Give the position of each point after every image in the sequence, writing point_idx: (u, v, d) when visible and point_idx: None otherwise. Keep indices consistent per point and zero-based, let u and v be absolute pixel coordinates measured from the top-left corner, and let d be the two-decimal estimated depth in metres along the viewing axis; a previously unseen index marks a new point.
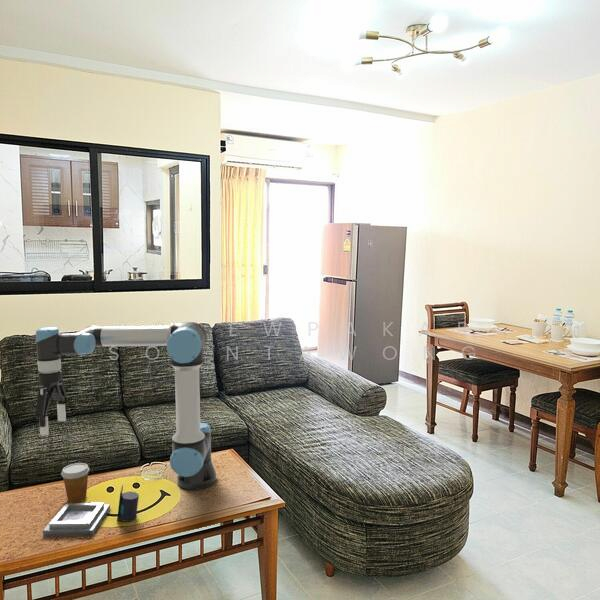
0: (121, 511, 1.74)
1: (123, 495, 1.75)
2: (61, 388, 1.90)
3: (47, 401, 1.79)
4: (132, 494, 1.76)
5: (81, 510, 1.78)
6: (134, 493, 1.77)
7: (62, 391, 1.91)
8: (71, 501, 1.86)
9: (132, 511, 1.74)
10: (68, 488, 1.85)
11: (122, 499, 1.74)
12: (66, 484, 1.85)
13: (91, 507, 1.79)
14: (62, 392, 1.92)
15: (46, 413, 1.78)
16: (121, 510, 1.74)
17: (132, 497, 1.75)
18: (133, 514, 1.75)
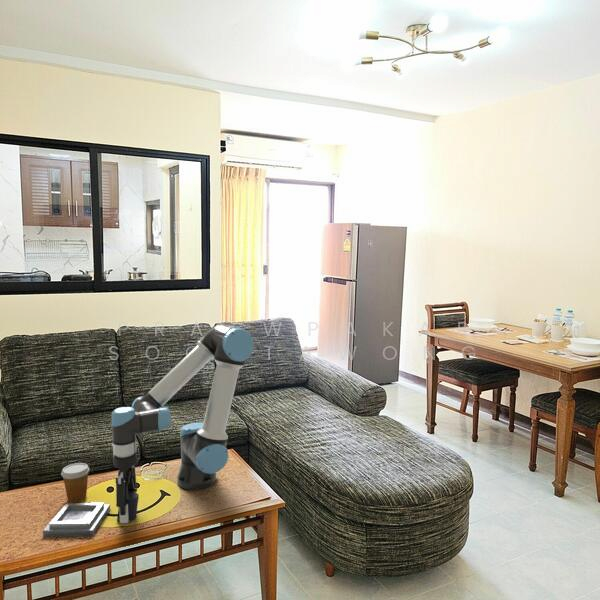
0: None
1: None
2: (133, 472, 1.81)
3: (125, 488, 1.72)
4: (132, 494, 1.76)
5: (81, 510, 1.78)
6: (134, 493, 1.77)
7: (133, 476, 1.81)
8: (71, 501, 1.86)
9: (132, 511, 1.74)
10: (68, 488, 1.85)
11: None
12: (66, 484, 1.85)
13: (91, 507, 1.79)
14: (133, 477, 1.81)
15: (126, 500, 1.72)
16: None
17: (132, 497, 1.75)
18: (133, 514, 1.75)
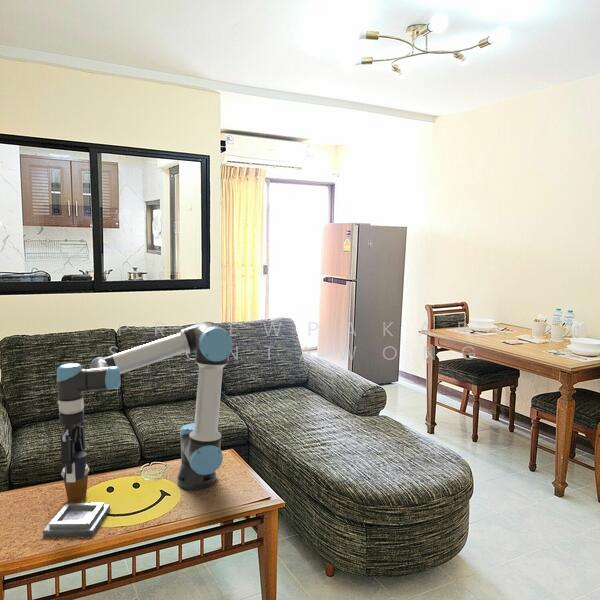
0: None
1: None
2: (81, 432, 1.75)
3: (71, 446, 1.67)
4: (80, 453, 1.72)
5: (81, 510, 1.78)
6: (82, 452, 1.73)
7: (81, 436, 1.75)
8: (71, 501, 1.86)
9: (79, 470, 1.69)
10: (68, 488, 1.85)
11: None
12: (66, 484, 1.85)
13: (91, 507, 1.79)
14: (81, 438, 1.76)
15: (72, 458, 1.67)
16: None
17: (80, 455, 1.70)
18: (80, 473, 1.70)
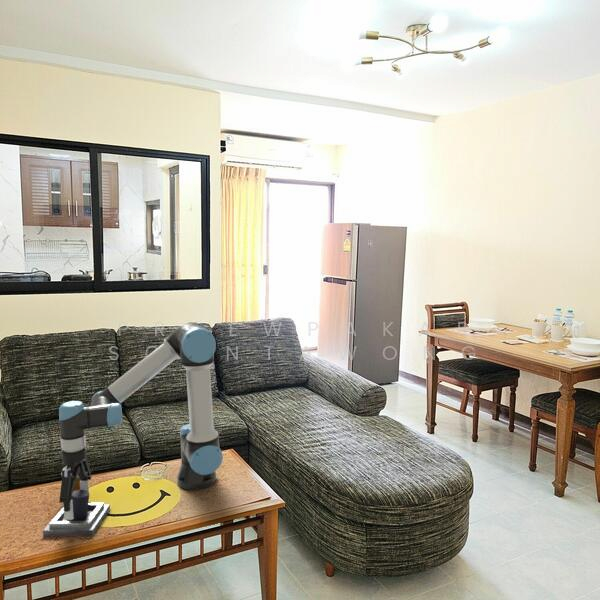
0: None
1: (73, 493, 1.72)
2: (85, 464, 1.78)
3: (71, 482, 1.67)
4: (82, 492, 1.74)
5: None
6: (85, 491, 1.75)
7: (85, 467, 1.79)
8: None
9: (82, 509, 1.71)
10: None
11: (72, 497, 1.71)
12: None
13: (91, 507, 1.79)
14: (85, 468, 1.79)
15: (71, 496, 1.66)
16: None
17: (82, 495, 1.72)
18: (83, 512, 1.72)
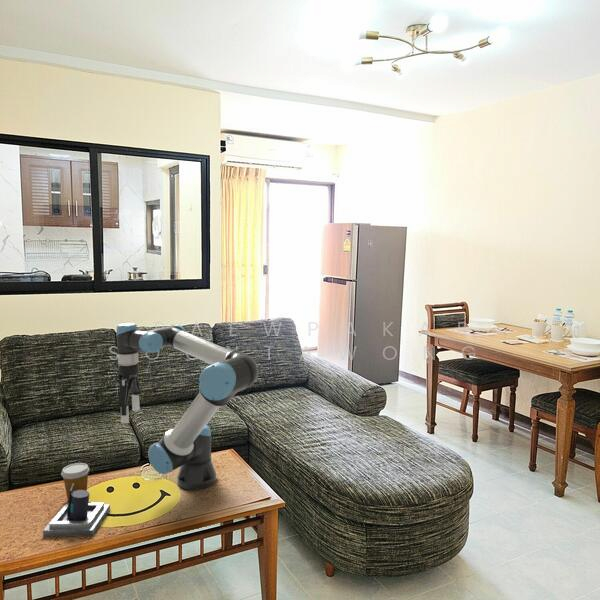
0: (71, 510, 1.71)
1: (73, 493, 1.72)
2: (136, 380, 2.04)
3: (127, 391, 1.93)
4: (83, 492, 1.74)
5: None
6: (85, 491, 1.75)
7: (136, 383, 2.05)
8: None
9: (82, 509, 1.71)
10: (68, 488, 1.85)
11: (72, 497, 1.71)
12: (66, 484, 1.85)
13: (91, 507, 1.79)
14: (136, 384, 2.05)
15: (127, 402, 1.92)
16: (71, 508, 1.71)
17: (83, 495, 1.72)
18: (83, 513, 1.72)
